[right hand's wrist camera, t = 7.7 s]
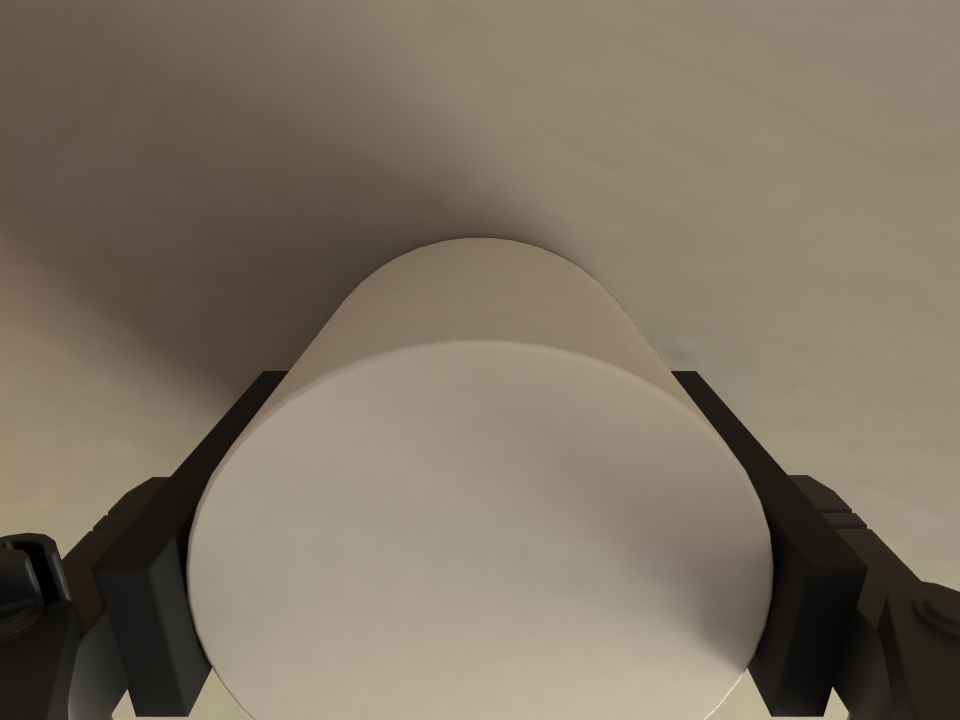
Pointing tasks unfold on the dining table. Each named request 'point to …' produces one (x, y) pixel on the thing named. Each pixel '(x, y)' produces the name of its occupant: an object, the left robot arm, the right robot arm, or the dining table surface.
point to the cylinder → (479, 513)
